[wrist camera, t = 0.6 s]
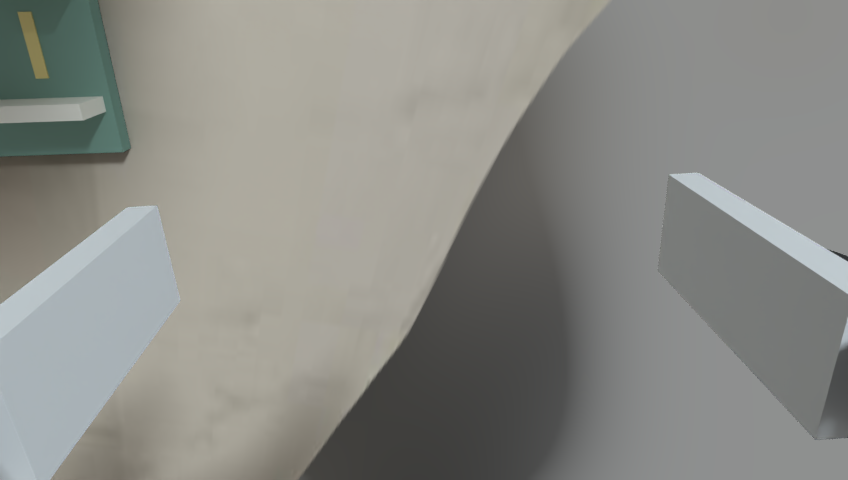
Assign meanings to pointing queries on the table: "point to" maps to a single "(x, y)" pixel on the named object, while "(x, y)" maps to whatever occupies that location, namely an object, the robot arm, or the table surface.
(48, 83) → the board
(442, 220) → the table surface
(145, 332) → the robot arm
